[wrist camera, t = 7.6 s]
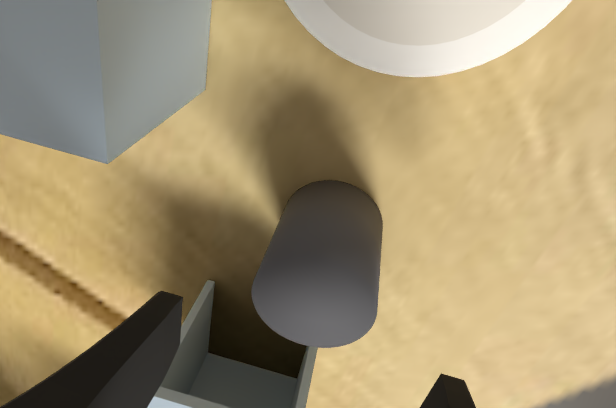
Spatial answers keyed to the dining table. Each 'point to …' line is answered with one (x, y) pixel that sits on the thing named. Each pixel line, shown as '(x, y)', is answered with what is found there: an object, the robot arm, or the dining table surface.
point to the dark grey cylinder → (322, 267)
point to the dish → (423, 31)
